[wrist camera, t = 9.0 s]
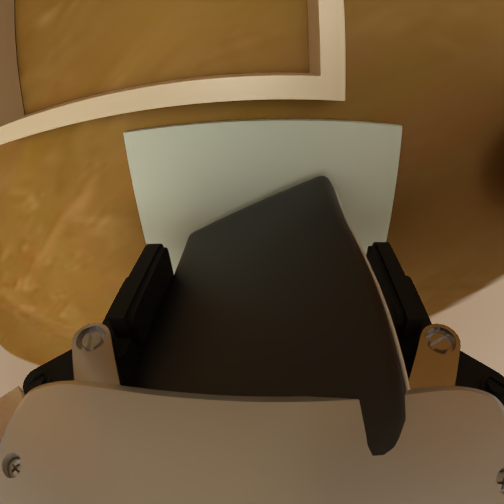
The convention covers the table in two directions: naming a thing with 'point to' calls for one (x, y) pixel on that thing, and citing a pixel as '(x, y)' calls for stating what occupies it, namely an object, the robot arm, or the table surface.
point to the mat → (259, 171)
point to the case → (181, 80)
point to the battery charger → (280, 313)
